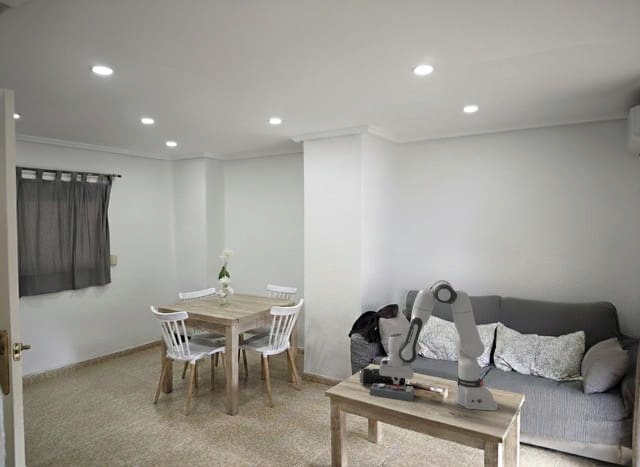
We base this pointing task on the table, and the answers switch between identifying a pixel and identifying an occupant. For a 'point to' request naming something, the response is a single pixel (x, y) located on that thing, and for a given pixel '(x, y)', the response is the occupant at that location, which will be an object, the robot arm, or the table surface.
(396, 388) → the rocker middle
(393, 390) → the strip housing
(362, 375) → the muzzle brake
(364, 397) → the table surface
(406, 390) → the rocker
